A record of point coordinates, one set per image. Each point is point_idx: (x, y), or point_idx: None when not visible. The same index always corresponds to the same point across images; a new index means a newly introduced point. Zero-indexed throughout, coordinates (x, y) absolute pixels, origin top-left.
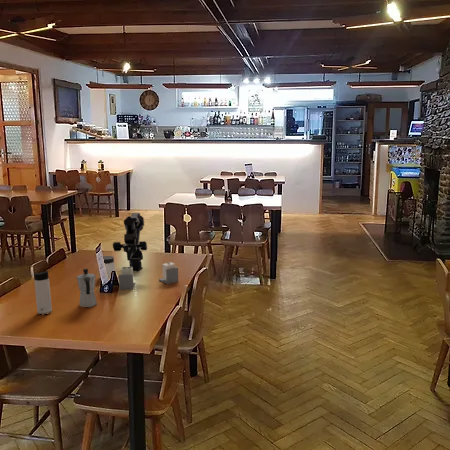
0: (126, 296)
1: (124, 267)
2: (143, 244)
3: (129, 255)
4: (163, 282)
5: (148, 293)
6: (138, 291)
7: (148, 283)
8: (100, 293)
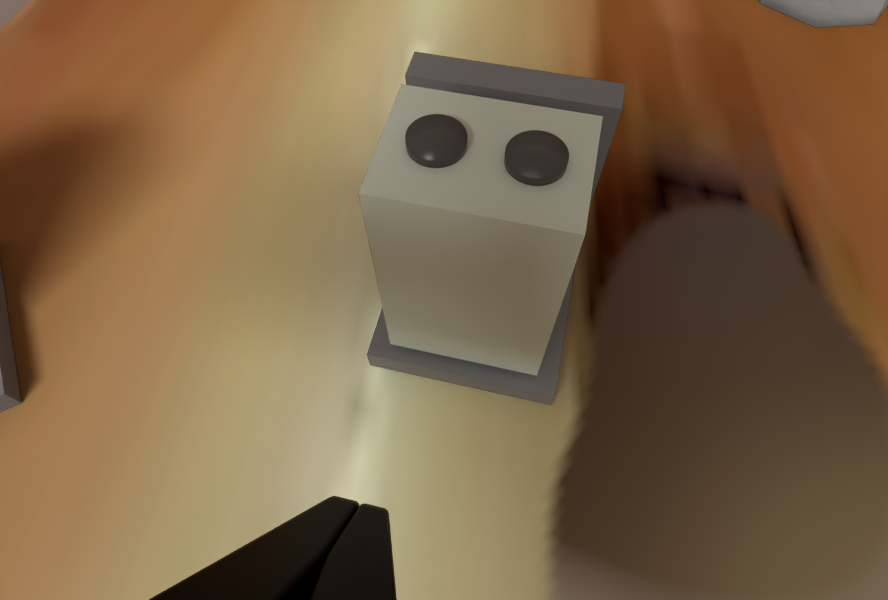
0: (506, 51)
1: (535, 155)
2: None
3: (303, 561)
4: (6, 314)
5: (300, 64)
6: (379, 130)
7: (195, 344)
8: (781, 179)
